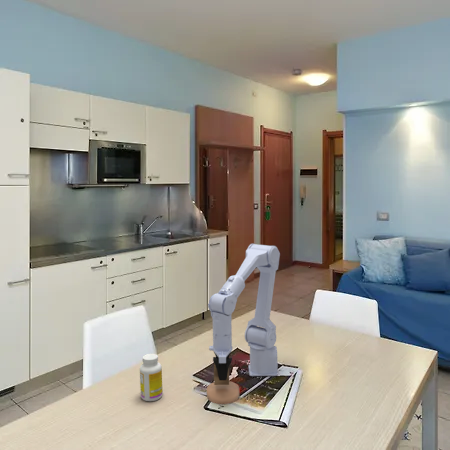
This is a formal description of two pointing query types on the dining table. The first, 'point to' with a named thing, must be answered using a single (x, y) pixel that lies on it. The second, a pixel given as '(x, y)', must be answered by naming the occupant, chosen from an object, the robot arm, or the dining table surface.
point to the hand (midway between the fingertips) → (222, 375)
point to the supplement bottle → (151, 378)
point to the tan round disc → (223, 393)
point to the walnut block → (216, 378)
